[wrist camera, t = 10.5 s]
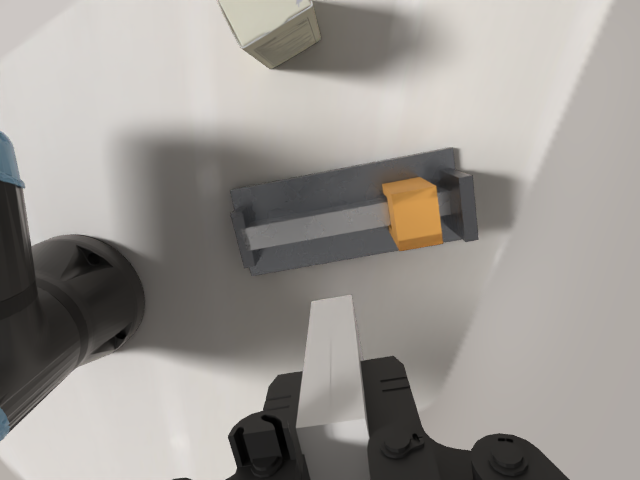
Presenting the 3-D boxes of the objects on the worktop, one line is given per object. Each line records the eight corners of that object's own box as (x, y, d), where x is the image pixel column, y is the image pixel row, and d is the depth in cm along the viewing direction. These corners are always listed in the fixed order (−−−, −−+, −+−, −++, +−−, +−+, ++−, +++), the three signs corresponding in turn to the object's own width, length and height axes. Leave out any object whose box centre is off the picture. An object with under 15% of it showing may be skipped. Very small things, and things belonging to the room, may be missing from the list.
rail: (253, 272, 47) (237, 301, 39) (232, 189, 44) (211, 202, 37) (459, 236, 45) (485, 259, 37) (450, 147, 42) (476, 151, 35)
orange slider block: (389, 232, 44) (399, 251, 37) (381, 184, 42) (391, 194, 36) (426, 226, 43) (443, 243, 37) (419, 176, 42) (436, 186, 35)
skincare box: (302, -3, 39) (289, -60, 27) (322, 40, 40) (318, 3, 28) (245, 31, 40) (209, -10, 28) (267, 72, 41) (240, 49, 29)
